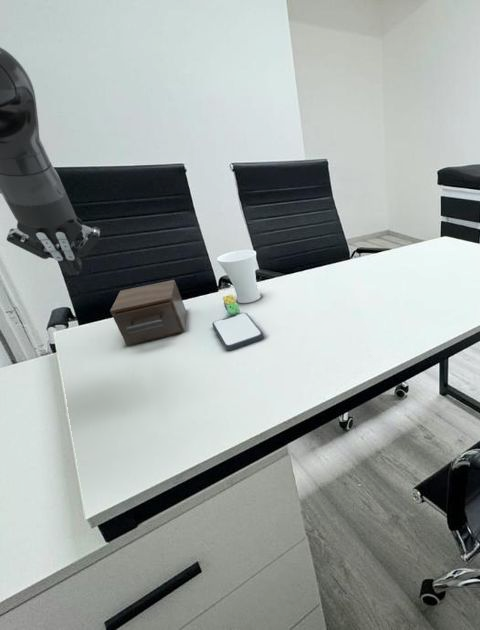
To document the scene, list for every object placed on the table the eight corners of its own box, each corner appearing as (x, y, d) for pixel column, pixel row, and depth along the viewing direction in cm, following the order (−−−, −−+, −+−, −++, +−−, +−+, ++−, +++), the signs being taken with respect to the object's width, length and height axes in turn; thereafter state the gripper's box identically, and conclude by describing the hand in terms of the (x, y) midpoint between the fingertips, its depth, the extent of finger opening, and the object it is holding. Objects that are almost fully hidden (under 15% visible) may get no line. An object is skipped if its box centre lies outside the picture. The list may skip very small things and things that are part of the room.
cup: (270, 300, 113) (258, 256, 107) (232, 309, 109) (217, 264, 103) (264, 289, 121) (253, 247, 115) (228, 297, 117) (215, 254, 111)
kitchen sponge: (226, 312, 107) (219, 291, 104) (236, 309, 109) (230, 288, 106) (232, 322, 101) (224, 300, 98) (242, 319, 102) (235, 298, 100)
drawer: (180, 338, 94) (168, 309, 90) (124, 352, 89) (110, 322, 86) (182, 311, 108) (172, 285, 104) (135, 322, 103) (122, 296, 100)
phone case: (266, 339, 92) (247, 316, 104) (264, 333, 92) (246, 311, 103) (227, 353, 88) (212, 327, 100) (225, 347, 87) (210, 322, 99)
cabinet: (184, 331, 99) (171, 297, 94) (126, 346, 94) (109, 310, 89) (186, 310, 110) (174, 279, 106) (134, 322, 106) (120, 290, 101)
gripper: (88, 179, 67) (118, 257, 79) (-17, 177, 61) (32, 261, 73) (83, 204, 63) (115, 282, 75) (-31, 203, 57) (24, 288, 69)
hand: (74, 271), depth 74 cm, fingers closed
